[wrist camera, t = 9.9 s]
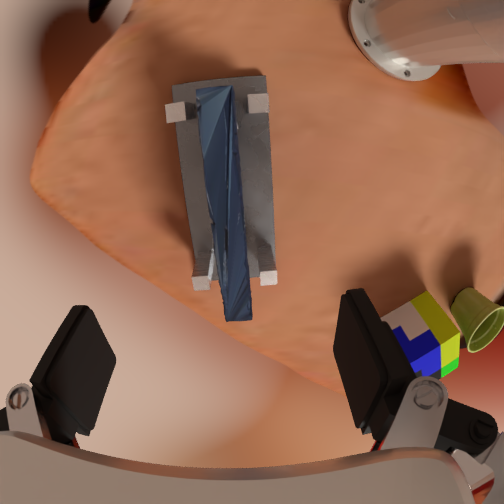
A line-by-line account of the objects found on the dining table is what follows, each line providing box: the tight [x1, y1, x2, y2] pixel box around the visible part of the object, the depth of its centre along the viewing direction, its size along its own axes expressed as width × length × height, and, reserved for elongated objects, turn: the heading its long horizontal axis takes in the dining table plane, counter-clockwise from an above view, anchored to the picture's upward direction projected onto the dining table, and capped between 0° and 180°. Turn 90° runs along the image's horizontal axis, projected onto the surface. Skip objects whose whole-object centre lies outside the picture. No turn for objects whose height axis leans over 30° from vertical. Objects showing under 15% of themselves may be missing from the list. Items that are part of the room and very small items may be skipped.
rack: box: [165, 76, 277, 291], centre depth 26 cm, size 22×9×6 cm, turn 4°
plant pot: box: [451, 288, 504, 353], centre depth 35 cm, size 9×9×9 cm
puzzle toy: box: [380, 291, 460, 380], centre depth 36 cm, size 10×10×10 cm
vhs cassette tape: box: [196, 85, 253, 322], centre depth 24 cm, size 18×3×10 cm, turn 2°
